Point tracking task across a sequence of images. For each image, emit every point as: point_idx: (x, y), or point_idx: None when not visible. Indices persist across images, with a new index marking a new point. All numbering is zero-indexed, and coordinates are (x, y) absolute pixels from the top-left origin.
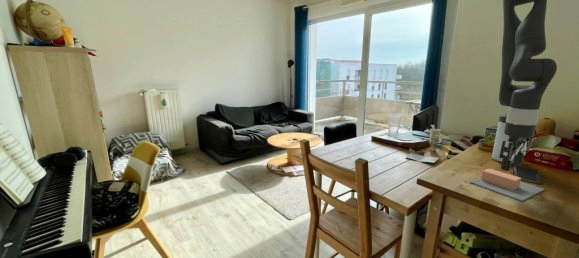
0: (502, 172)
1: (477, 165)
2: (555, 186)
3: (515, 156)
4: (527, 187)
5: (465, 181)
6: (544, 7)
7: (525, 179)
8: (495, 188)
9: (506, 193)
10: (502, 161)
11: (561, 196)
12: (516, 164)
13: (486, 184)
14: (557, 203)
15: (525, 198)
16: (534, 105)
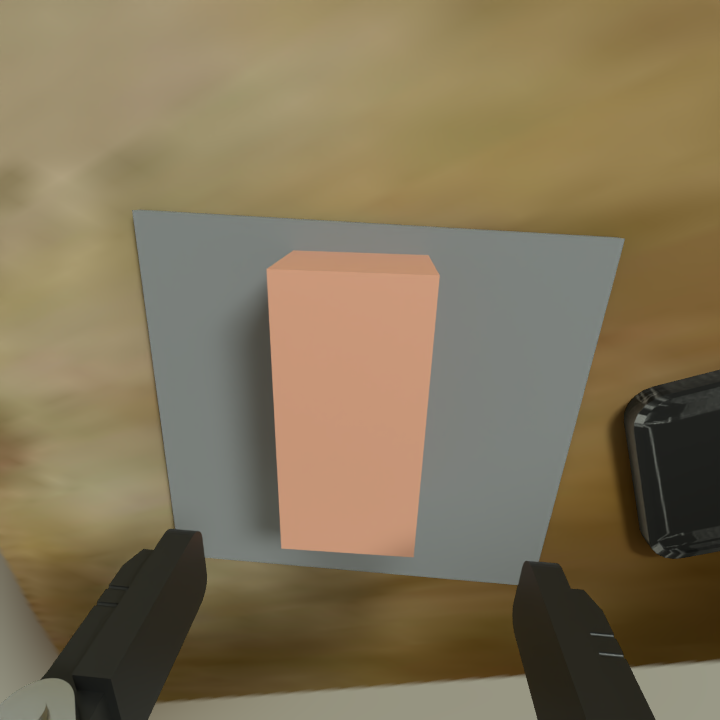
0: (420, 419)
1: None
2: (682, 601)
3: (569, 697)
4: (460, 521)
5: (125, 167)
6: None
7: (642, 479)
8: (204, 404)
9: (190, 476)
10: (101, 629)
11: (495, 642)
12: (523, 591)
13: (219, 330)
14: (353, 645)
15: (228, 558)
16: None
